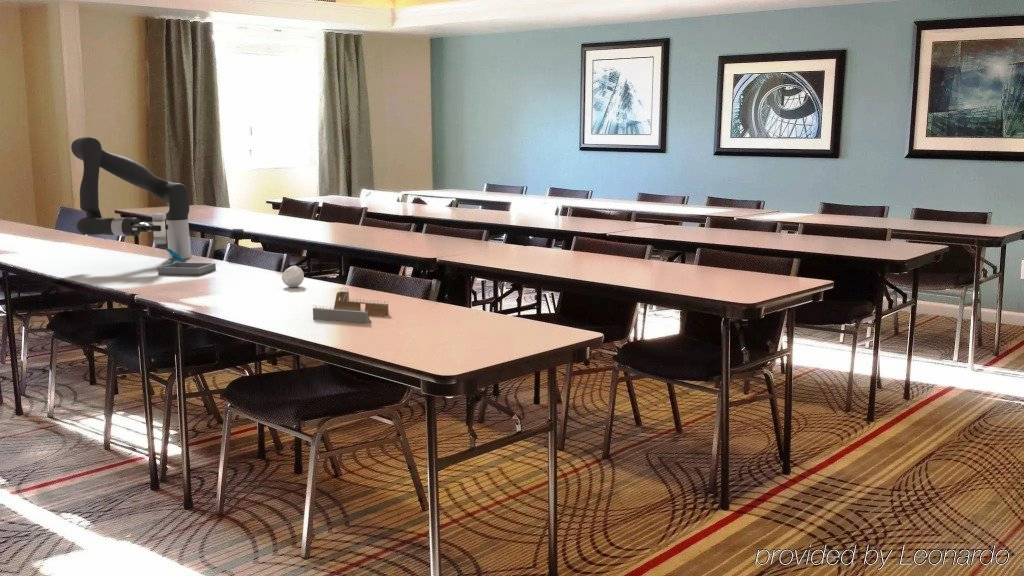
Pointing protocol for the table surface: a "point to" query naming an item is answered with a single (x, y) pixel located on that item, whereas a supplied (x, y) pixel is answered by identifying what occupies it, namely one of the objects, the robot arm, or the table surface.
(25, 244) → the table surface
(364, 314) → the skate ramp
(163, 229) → the fuse
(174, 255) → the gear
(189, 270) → the parts tray
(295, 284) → the white ball
